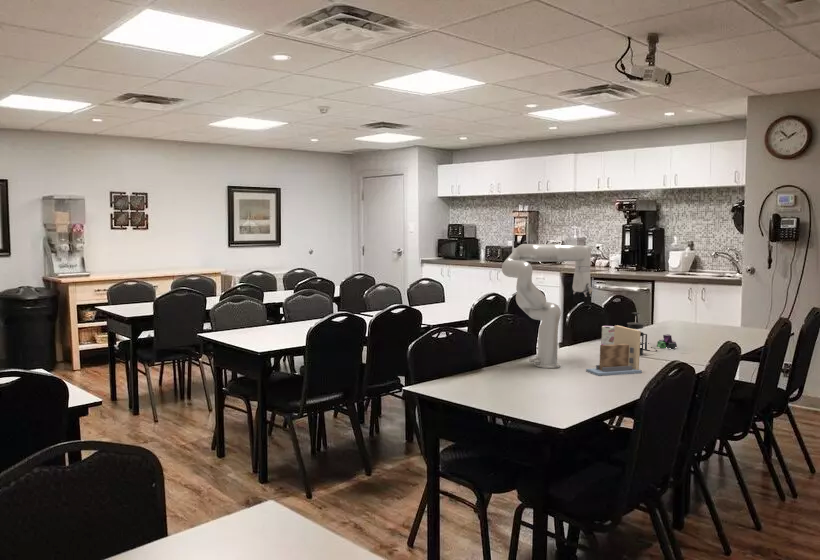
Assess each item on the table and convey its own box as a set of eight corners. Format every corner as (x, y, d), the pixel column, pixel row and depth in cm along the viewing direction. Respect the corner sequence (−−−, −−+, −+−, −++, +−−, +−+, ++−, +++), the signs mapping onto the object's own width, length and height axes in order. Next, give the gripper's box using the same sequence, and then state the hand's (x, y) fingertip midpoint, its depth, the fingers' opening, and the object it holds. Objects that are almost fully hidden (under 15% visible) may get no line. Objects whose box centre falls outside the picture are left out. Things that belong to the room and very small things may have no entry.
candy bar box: (623, 357, 351) (624, 326, 350) (621, 358, 347) (623, 328, 346) (602, 355, 357) (603, 325, 355) (600, 356, 352) (601, 326, 351)
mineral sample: (692, 356, 358) (693, 339, 357) (626, 348, 376) (627, 333, 376) (701, 350, 387) (702, 335, 387) (639, 343, 405) (640, 329, 405)
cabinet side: (598, 375, 305) (599, 333, 304) (574, 367, 324) (576, 327, 323) (641, 373, 313) (643, 331, 311) (616, 364, 332) (617, 325, 330)
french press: (621, 354, 360) (622, 312, 358) (628, 351, 367) (629, 310, 365) (642, 356, 352) (644, 314, 351) (649, 354, 360) (650, 312, 358)
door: (603, 371, 310) (604, 346, 309) (599, 369, 313) (600, 344, 312) (629, 369, 315) (630, 344, 314) (625, 368, 318) (626, 343, 317)
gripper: (567, 268, 342) (566, 301, 343) (585, 271, 325) (584, 305, 327) (580, 268, 344) (578, 301, 345) (598, 270, 327) (597, 304, 329)
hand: (581, 303), depth 336 cm, fingers open, 9 cm apart
